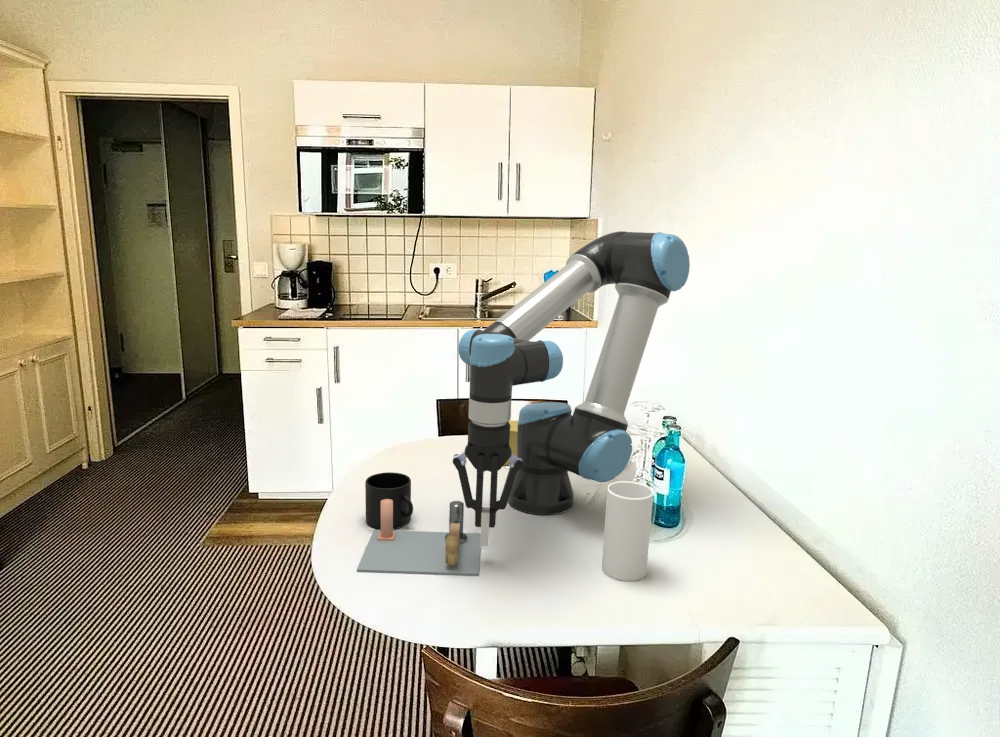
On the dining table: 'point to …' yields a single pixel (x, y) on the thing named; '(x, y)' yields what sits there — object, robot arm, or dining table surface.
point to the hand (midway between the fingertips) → (484, 542)
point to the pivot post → (457, 518)
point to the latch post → (386, 521)
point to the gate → (452, 544)
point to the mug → (388, 488)
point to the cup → (627, 530)
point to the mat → (419, 554)
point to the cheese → (513, 438)
